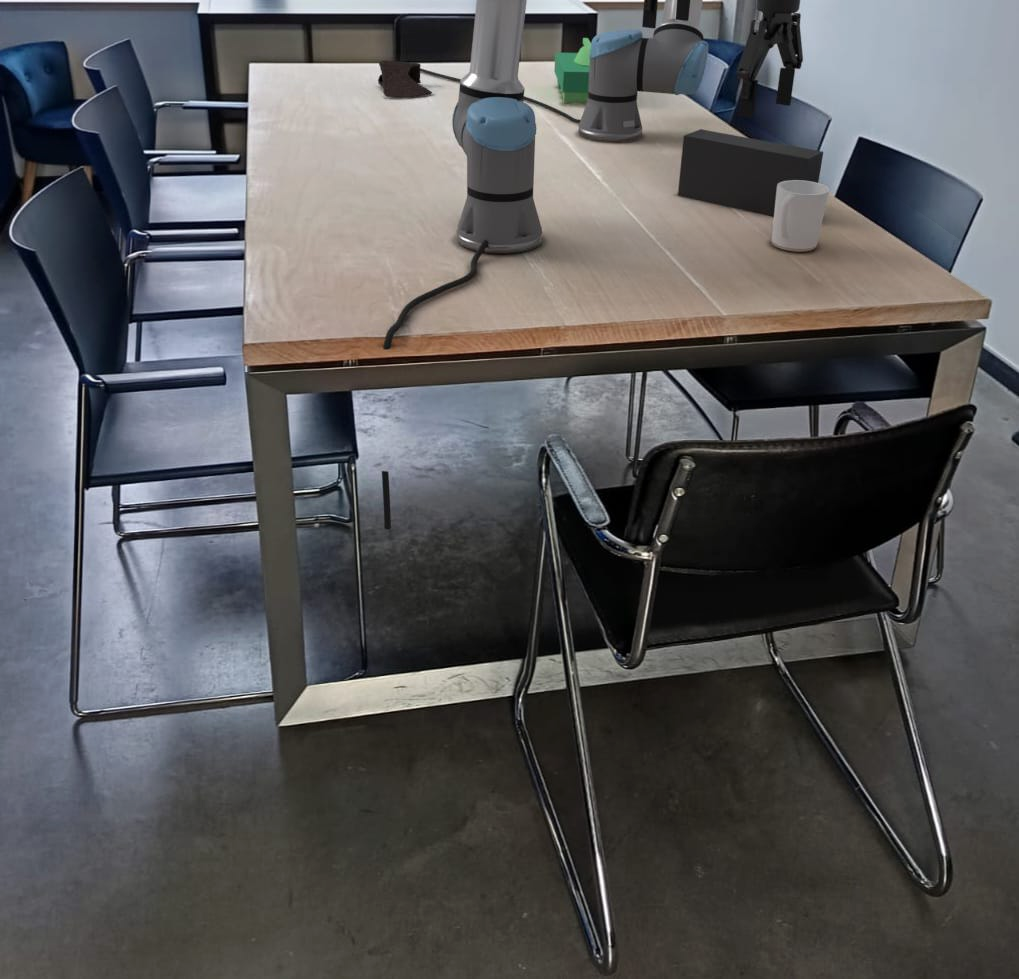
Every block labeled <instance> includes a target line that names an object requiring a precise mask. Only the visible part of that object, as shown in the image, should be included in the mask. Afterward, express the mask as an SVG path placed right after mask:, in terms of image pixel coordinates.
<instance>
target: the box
mask: <svg viewBox="0 0 1019 979" xmlns="http://www.w3.org/2000/svg"><path fill="white" fill-rule="evenodd" d="M682 138H683V139H682V149H681V158H680V168H679V169H680V170H679V177H678V178H679V179H678V189H677V196H678V197H685V198H688V199H693V200H698V201H702V202H705V203H711V204H715V205H720V206H725V207H729V208H734V209H738V210H743V211H748V212H752V213H756V214H761V215H765V216H771V217H774V211H775V201H776V191H777V185H778V183H780V182H783V181H789V180H803V181H811V182H816V183H819V180H820V176H821V169H822V163H823V157H824V151H822V150H816V149H812V148H805V147H802V146H801V147H800V146H795V145H790V144H784V143H779V142H772V141H767V140H761V139H756V138H751V137H745V136H740V135H735V134H729V133H724V132H718V131H712V130H707V129H703V128H700V129H697V130H694V131H692V132H689V133H686V134H684V135H683V137H682Z"/></svg>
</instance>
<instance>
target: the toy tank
mask: <svg viewBox="0 0 1019 979" xmlns="http://www.w3.org/2000/svg"><path fill="white" fill-rule="evenodd" d="M591 43H592V41H590V39H589V37H583V38H582V45H583V46H581V47H580V48H579V50H578V52H554V74H555V76H556V80H557V87H558V88H560V92H561V94H562V103H563V104H587V101H588V87H589V67H590V58H589V56H590V51H591Z"/></svg>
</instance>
